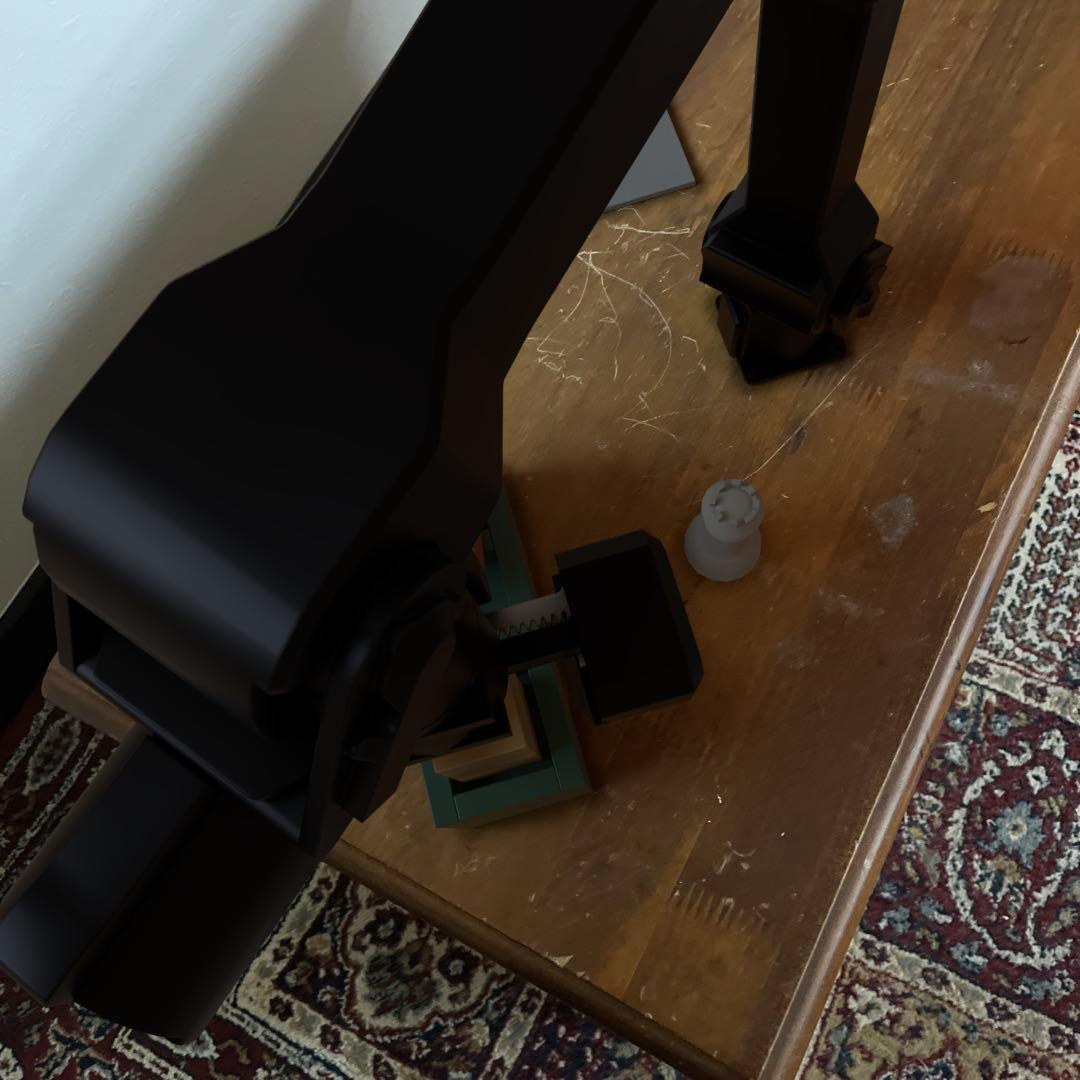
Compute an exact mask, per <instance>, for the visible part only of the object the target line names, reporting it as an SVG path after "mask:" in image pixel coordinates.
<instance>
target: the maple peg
mask: <svg viewBox="0 0 1080 1080" xmlns="http://www.w3.org/2000/svg"><path fill="white" fill-rule="evenodd" d="M504 703H505V707H506V711H507V714H508V718H509V722H510V726H511V730H512V734H513V736H511V737H508V738H504V739H501V740H497V741H494V742H490V743H487V744H484V745H480V746H477V747H473V748H470V749H466V750H463V751H459V752H456V753H452V754H449V755H445V756H442V757H438V758H435V759H432V761H433V765H434V769H435V772H436V773H438V774H441V775H444V776H447V777H450V778H453V779H456V780H459V781H462V782H465V783H468V784H470V783H473V782H477V781H480V780H483V779H487V778H490V777H494V776H497V775H500V774H504V773H507V772H510V771H514V770H517V769H521V768H524V767H527V766H531V765H534V764H538V763H541V762H544V757H543V753H542V749H541V746H540V742H539V738H538V735H537V731H536V727H535V724H534V720H533V716H532V713H531V709H530V705H529V702H528V698H527V694H526V691H525V687H524V685H523V683H522V682H521V681H520V679H519V678H518V677H517V675H516V674H515V673H514V674H510V675H509V677H508V688H507V693H506V697H505V699H504Z"/></svg>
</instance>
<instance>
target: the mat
mask: <svg viewBox="0 0 1080 1080" xmlns="http://www.w3.org/2000/svg"><path fill="white" fill-rule="evenodd" d="M694 186H696V178H695V176H694V173H693V171H692V169H691V166H690V164H689V161H688V158H687V156H686V153H685V151H684V149H683V146H682V144H681V141H680V138H679V136H678V134H677V131H676V128H675V127H674V124H673V121H672V119H671V116H670V114H669V110H668V108H667V109H666V111H665V113H664V114H663V116H662V118H661V119H660V121H659V122H658V124H657V126H656V127H655V129H654V131H653V132H652V134H651V135H650V137H649V139H648V140H647V142H646V144H645V145H644V147H643V148H642V150H641V152H640V153H639V155H638V157H637V158H636V160H635V161H634V163H633V165H632V166H631V168H630V170H629V171H628V173H627V174H626V176H625V178H624V179H623V181H622V183H621V184H620V186H619V187H618V189H617V191H616V192H615V194H614V196H613V197H612V199H611V200H610V202H609V204H608V205H607V207H606V209H605V210H604V212H603V213H607V212H611V211H614V210H617V209H621V208H623V207H627V206H630V205H633V204H637V203H640V202H643V201H647V200H651V199H653V198H657V197H660V196H661V197H662V196H663V195H664V196H665V195H667V194H670V193H674V192H677V191H680V190H683V189H684V190H685V189H687V188H691V187H694ZM603 213H602V214H603Z"/></svg>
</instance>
